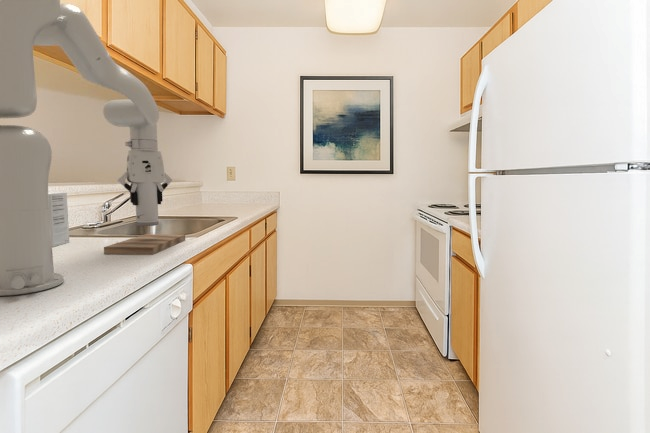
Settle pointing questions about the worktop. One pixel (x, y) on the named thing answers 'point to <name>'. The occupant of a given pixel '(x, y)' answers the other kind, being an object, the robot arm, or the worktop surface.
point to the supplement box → (58, 218)
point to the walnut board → (145, 244)
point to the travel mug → (147, 201)
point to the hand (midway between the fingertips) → (147, 204)
